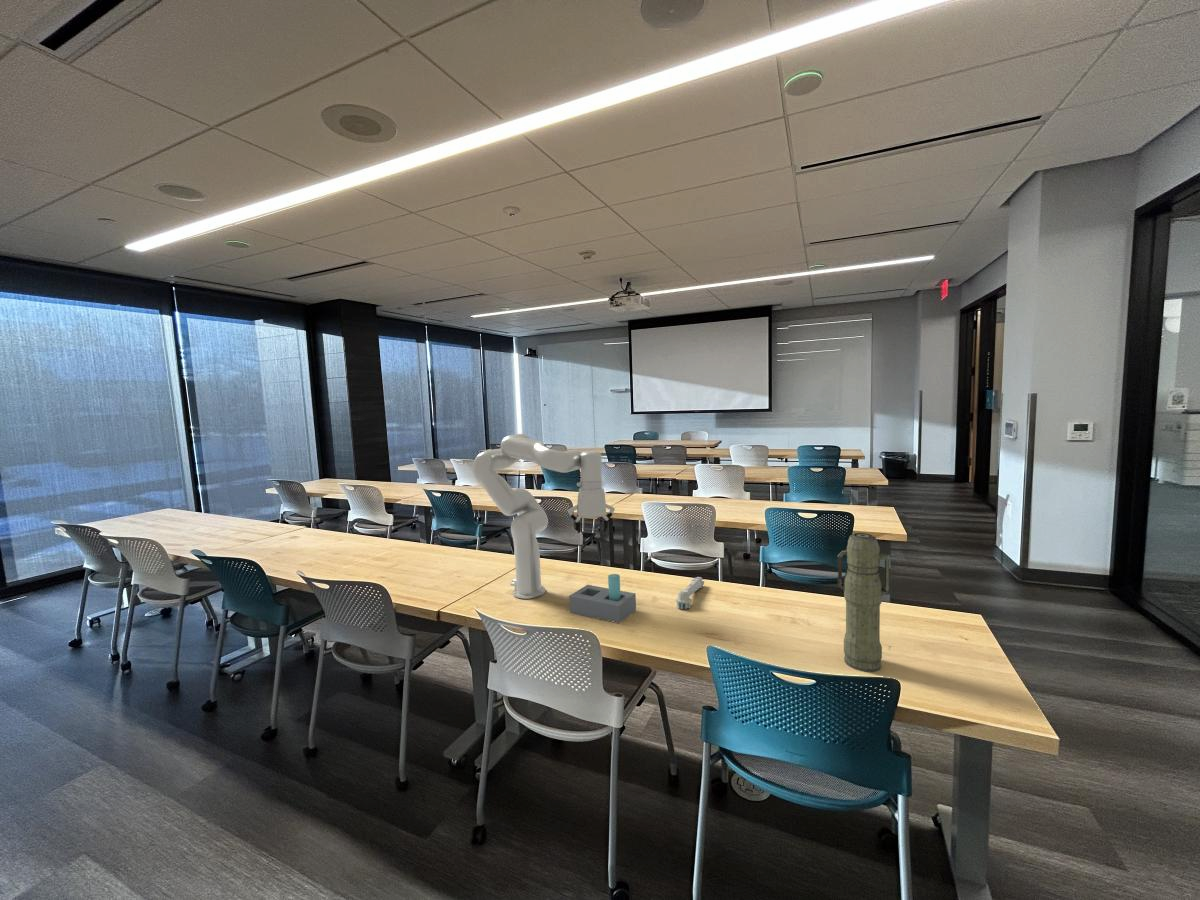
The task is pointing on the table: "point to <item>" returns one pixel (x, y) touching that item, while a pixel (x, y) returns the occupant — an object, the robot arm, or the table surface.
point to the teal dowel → (614, 587)
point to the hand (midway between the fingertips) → (591, 531)
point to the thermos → (863, 601)
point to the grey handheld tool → (688, 593)
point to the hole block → (602, 603)
